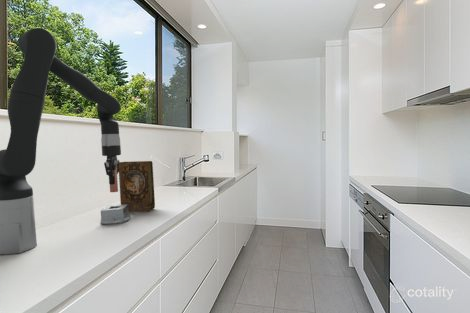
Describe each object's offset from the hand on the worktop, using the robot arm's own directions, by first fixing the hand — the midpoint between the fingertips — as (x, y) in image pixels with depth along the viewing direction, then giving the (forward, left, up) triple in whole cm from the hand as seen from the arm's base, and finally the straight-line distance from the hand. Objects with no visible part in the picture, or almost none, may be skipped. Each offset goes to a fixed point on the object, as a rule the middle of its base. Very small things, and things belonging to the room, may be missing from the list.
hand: (113, 183), depth 114 cm
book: (+16, -6, -17) cm, 24 cm away
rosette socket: (0, 0, -17) cm, 17 cm away
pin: (0, 0, -4) cm, 4 cm away
